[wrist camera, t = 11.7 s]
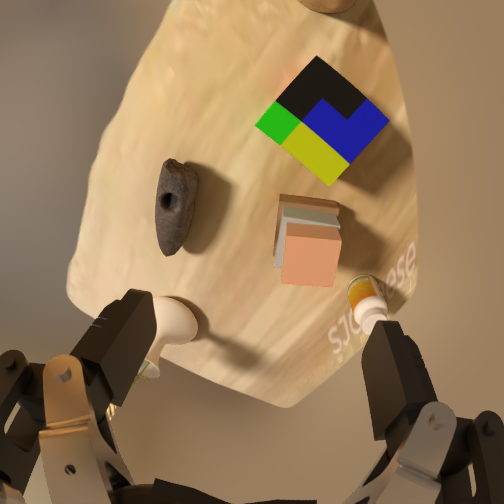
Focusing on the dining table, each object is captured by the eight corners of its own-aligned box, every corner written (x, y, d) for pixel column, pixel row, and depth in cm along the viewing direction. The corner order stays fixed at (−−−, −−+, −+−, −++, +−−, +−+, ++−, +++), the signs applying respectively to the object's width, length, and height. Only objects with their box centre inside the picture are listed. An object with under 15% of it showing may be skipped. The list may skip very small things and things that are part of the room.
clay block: (286, 222, 33) (286, 235, 30) (336, 226, 33) (342, 240, 29) (282, 266, 36) (281, 283, 33) (328, 270, 36) (332, 287, 32)
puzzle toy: (365, 118, 33) (389, 120, 25) (318, 169, 38) (329, 186, 29) (308, 70, 31) (316, 55, 23) (262, 123, 36) (254, 125, 27)
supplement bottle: (340, 294, 46) (349, 333, 38) (357, 268, 44) (371, 305, 35) (365, 304, 47) (378, 342, 38) (382, 280, 44) (399, 316, 36)
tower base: (279, 193, 40) (279, 201, 37) (334, 200, 40) (339, 209, 36) (274, 243, 44) (273, 255, 40) (325, 249, 43) (328, 262, 40)
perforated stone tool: (190, 250, 46) (176, 272, 40) (161, 242, 46) (143, 262, 40) (208, 160, 39) (193, 169, 33) (174, 153, 39) (154, 160, 33)
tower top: (283, 205, 37) (283, 216, 33) (335, 215, 36) (340, 226, 33) (275, 253, 40) (273, 267, 36) (323, 261, 40) (327, 275, 36)
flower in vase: (183, 286, 49) (122, 401, 27) (210, 333, 54) (173, 446, 31) (129, 299, 52) (64, 395, 30) (157, 341, 57) (111, 437, 35)
